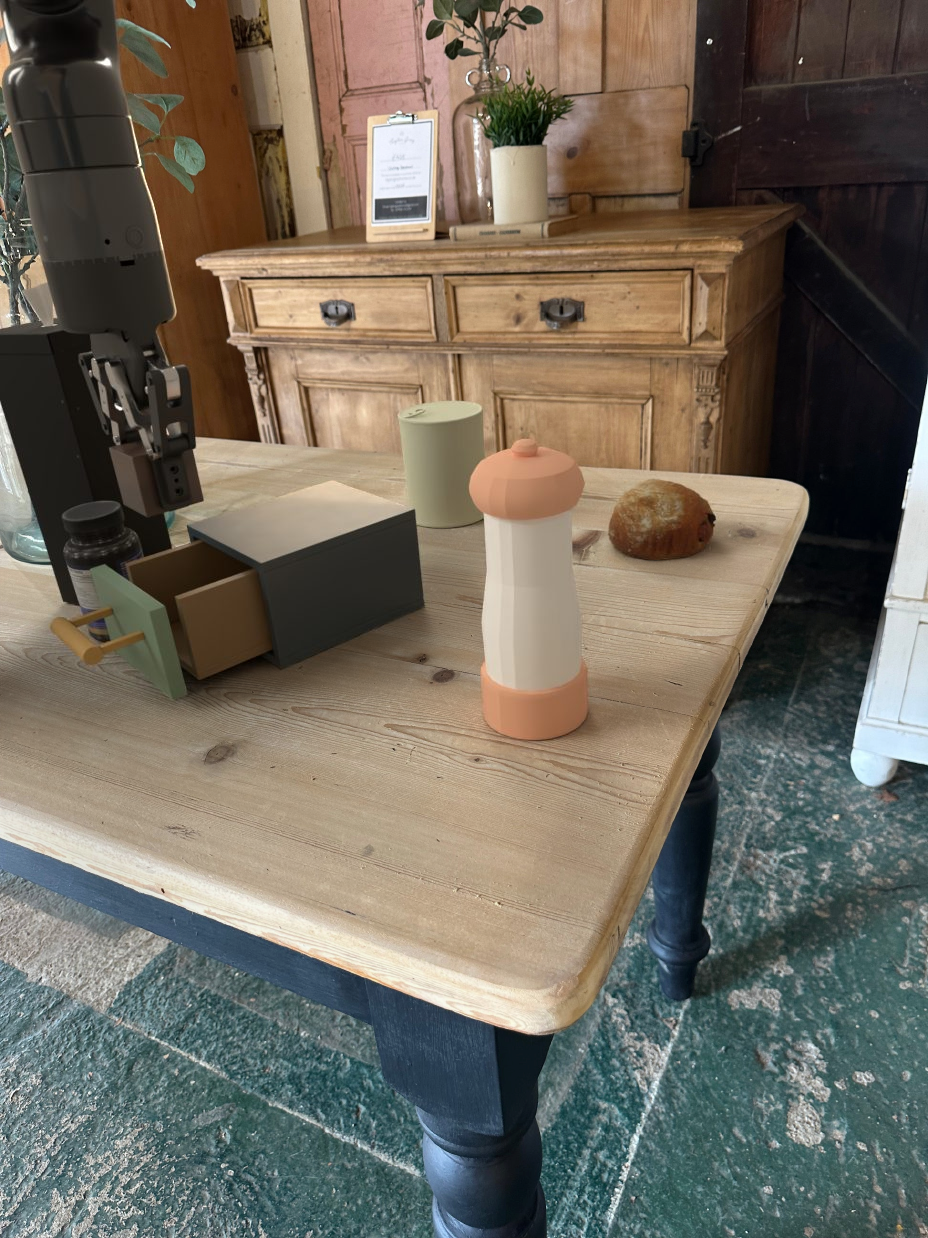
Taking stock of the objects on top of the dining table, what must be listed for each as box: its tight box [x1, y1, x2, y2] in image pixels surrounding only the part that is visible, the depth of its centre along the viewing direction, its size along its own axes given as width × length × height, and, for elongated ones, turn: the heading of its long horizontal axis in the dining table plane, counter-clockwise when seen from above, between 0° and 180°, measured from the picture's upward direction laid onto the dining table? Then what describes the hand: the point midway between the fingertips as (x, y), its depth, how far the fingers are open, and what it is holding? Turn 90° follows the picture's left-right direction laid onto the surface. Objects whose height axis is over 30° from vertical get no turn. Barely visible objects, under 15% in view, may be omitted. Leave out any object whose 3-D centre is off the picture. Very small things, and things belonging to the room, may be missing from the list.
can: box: [397, 400, 486, 529], centre depth 94 cm, size 9×9×12 cm
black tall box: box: [0, 282, 173, 606], centre depth 77 cm, size 8×8×28 cm
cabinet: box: [186, 479, 426, 670], centre depth 74 cm, size 15×13×9 cm
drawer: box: [49, 540, 273, 701], centre depth 68 cm, size 18×11×7 cm, turn 131°
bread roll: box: [607, 478, 717, 561], centre depth 84 cm, size 10×10×8 cm
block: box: [109, 433, 205, 517], centre depth 63 cm, size 4×4×4 cm
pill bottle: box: [62, 501, 144, 642], centre depth 74 cm, size 6×6×11 cm
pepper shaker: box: [469, 438, 589, 741], centre depth 56 cm, size 7×7×19 cm
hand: (162, 499), depth 63 cm, fingers closed on block, 4 cm apart
